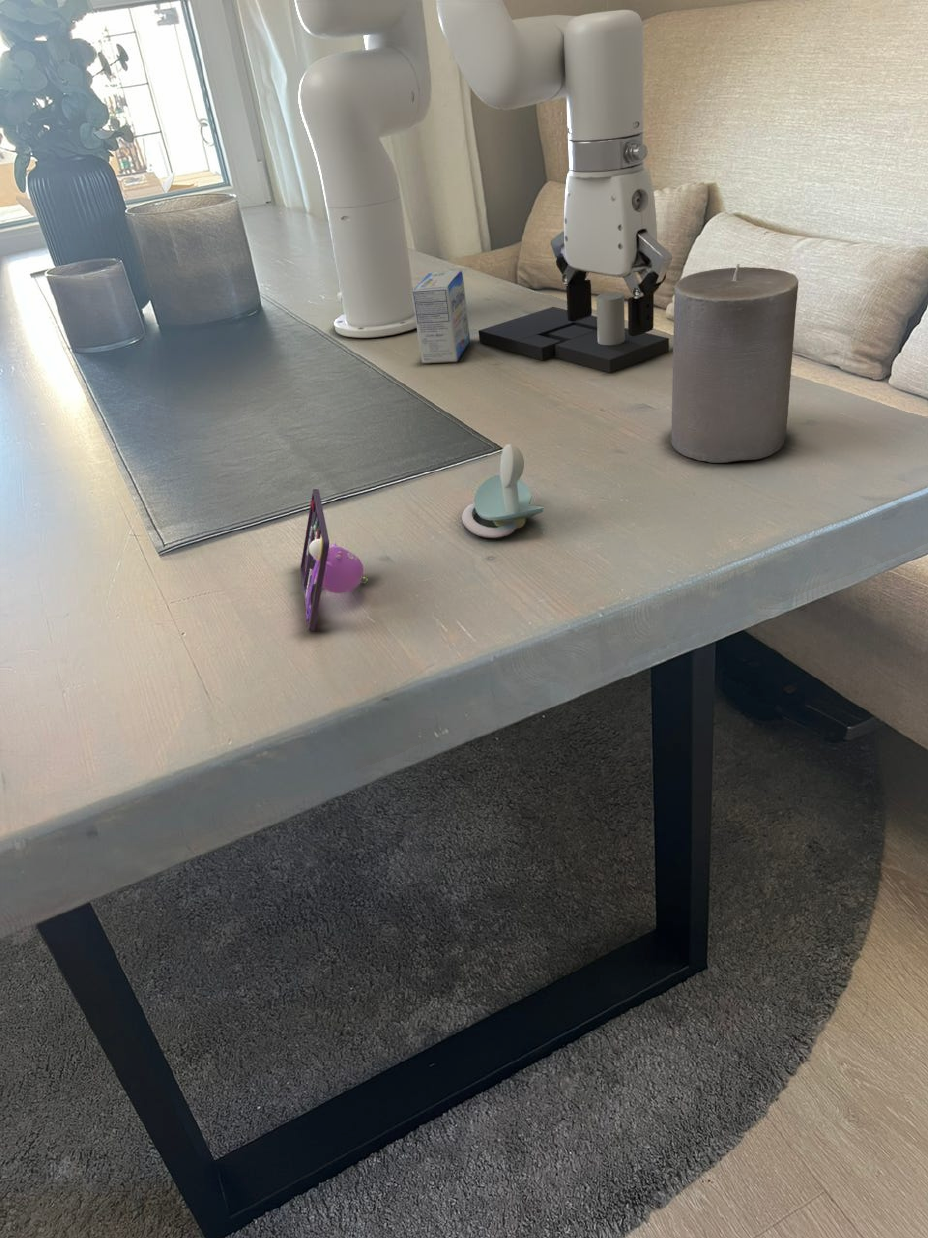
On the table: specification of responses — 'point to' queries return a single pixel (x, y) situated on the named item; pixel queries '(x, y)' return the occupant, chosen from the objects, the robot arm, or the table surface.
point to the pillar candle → (732, 362)
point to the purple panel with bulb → (325, 563)
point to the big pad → (532, 332)
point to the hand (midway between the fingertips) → (609, 325)
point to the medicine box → (441, 317)
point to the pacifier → (502, 499)
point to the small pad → (606, 354)
